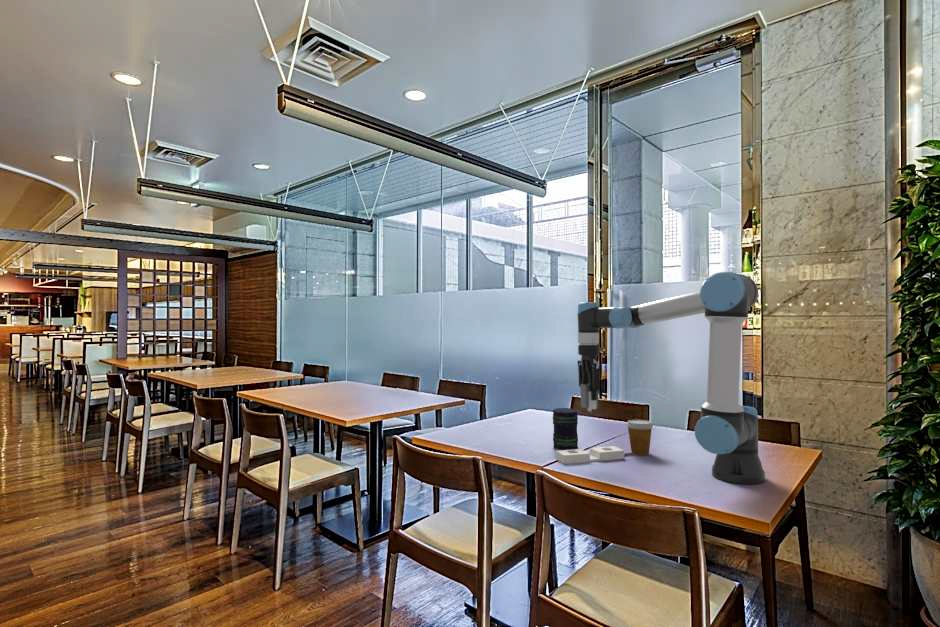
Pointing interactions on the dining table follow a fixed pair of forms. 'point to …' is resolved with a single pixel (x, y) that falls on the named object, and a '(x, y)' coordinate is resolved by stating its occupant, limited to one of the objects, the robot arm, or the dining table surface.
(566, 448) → the storage jar
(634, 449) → the disposable coffee cup
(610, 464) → the dining table surface
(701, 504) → the dining table surface
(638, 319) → the robot arm
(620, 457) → the power strip
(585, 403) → the charger
